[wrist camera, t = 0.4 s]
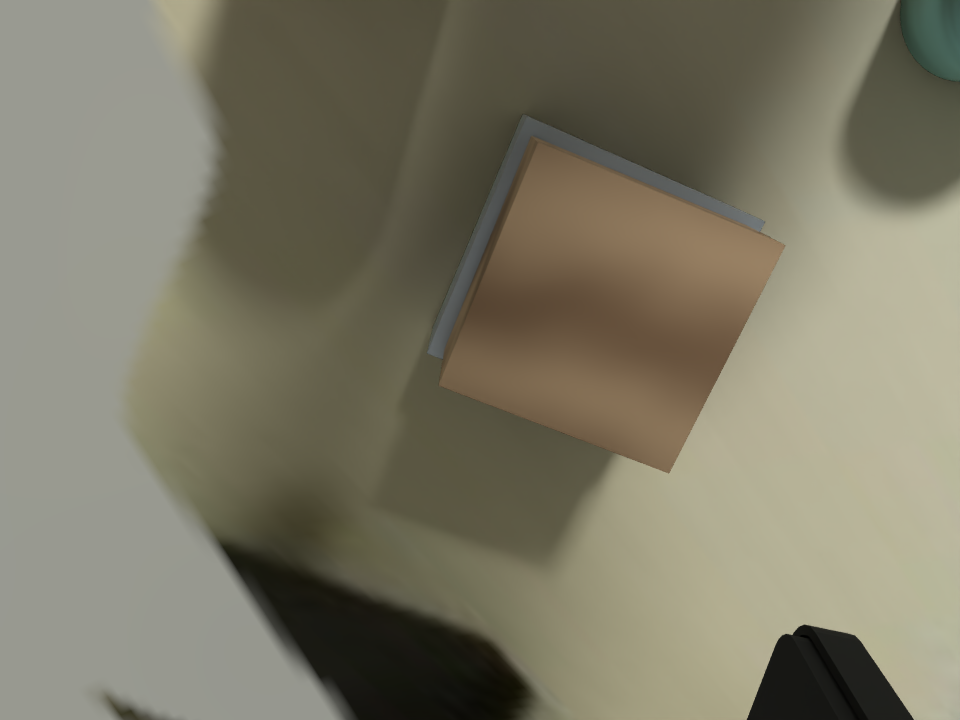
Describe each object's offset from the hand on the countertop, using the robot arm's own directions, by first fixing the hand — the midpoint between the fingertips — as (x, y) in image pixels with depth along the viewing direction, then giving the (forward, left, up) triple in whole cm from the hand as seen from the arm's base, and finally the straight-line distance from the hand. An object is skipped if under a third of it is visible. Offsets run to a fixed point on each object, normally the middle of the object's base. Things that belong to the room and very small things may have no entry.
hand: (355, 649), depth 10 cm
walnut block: (-1, +6, -25) cm, 26 cm away
